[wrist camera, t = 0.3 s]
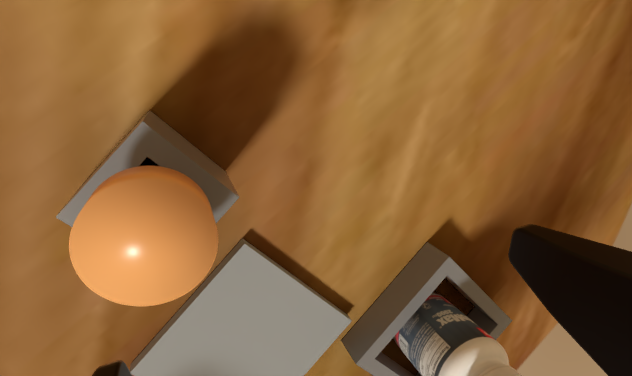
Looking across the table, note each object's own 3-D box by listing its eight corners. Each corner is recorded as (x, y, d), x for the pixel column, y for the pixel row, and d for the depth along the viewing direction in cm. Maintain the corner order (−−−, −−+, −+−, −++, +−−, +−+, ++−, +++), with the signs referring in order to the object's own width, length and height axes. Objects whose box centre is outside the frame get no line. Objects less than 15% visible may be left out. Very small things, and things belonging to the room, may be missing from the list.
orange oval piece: (164, 249, 19) (160, 327, 13) (81, 197, 17) (34, 261, 11) (223, 183, 19) (244, 232, 13) (147, 124, 17) (134, 150, 11)
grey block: (166, 237, 21) (164, 281, 17) (83, 183, 19) (55, 217, 15) (225, 171, 22) (239, 197, 17) (149, 109, 19) (142, 121, 15)
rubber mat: (254, 420, 27) (256, 429, 26) (130, 363, 23) (129, 373, 22) (347, 314, 27) (351, 320, 27) (242, 238, 23) (244, 243, 22)
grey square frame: (414, 389, 32) (432, 413, 30) (341, 340, 28) (355, 364, 26) (488, 303, 32) (512, 320, 30) (427, 241, 28) (449, 256, 26)
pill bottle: (457, 296, 31) (557, 375, 23) (431, 352, 31) (519, 447, 23) (407, 285, 29) (498, 367, 21) (380, 344, 29) (458, 447, 21)
